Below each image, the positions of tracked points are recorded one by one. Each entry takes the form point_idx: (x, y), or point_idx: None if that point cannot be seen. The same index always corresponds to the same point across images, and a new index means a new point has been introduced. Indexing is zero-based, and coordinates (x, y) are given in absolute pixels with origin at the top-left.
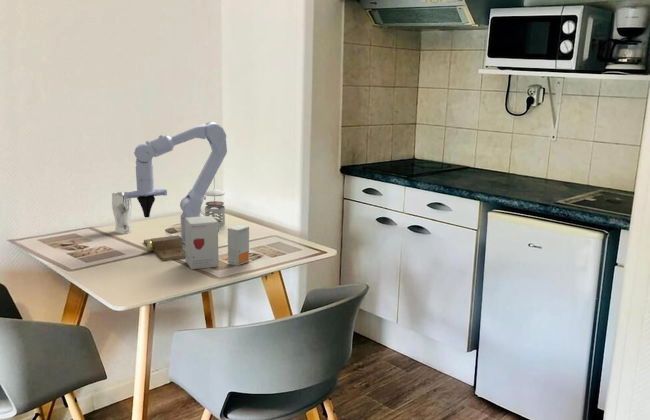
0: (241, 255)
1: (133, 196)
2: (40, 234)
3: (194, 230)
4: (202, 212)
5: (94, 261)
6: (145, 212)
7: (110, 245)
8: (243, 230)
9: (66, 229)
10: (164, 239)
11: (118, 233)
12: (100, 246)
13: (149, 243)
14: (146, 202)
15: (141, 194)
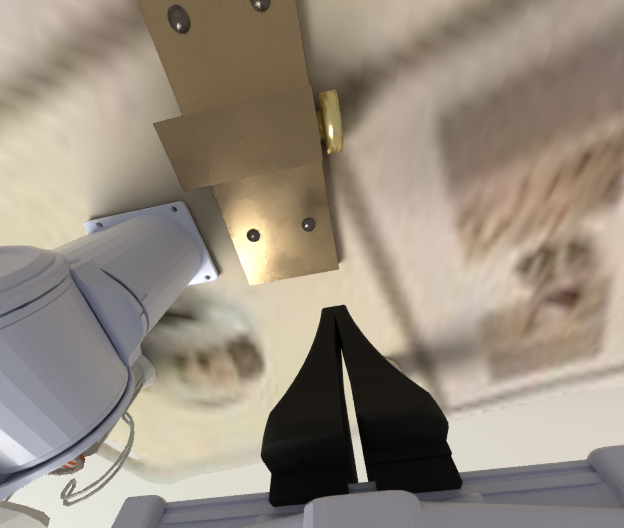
0: None
1: (527, 491)
2: (567, 389)
3: None
4: (129, 424)
5: (605, 21)
6: (351, 323)
7: (449, 260)
8: None
9: (497, 409)
10: (251, 120)
11: (394, 361)
12: (482, 257)
13: (336, 96)
14: (358, 389)
15: (474, 524)
